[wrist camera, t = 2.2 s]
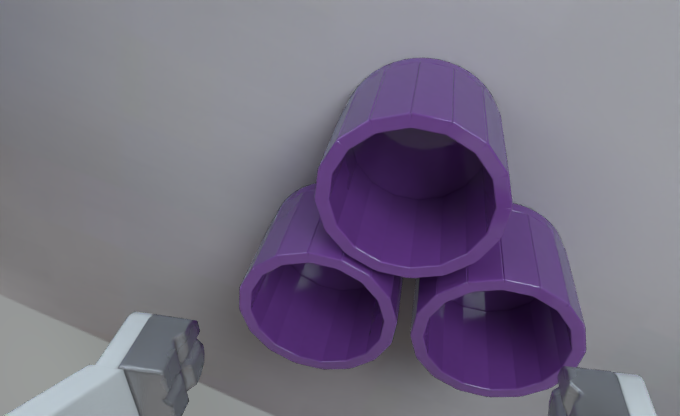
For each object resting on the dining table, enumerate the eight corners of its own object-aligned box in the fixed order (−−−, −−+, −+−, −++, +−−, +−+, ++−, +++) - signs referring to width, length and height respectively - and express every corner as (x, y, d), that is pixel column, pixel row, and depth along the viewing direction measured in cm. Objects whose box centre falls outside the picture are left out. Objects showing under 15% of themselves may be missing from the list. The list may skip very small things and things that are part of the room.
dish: (596, 249, 23) (626, 338, 19) (500, 327, 26) (507, 417, 22) (476, 174, 22) (481, 251, 18) (393, 266, 25) (380, 348, 21)
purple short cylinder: (536, 115, 20) (556, 186, 16) (438, 224, 23) (433, 304, 19) (397, 23, 19) (379, 74, 15) (315, 150, 22) (284, 219, 18)
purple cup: (433, 228, 24) (428, 309, 19) (361, 307, 27) (344, 389, 23) (312, 156, 23) (280, 225, 19) (254, 247, 26) (216, 322, 22)
